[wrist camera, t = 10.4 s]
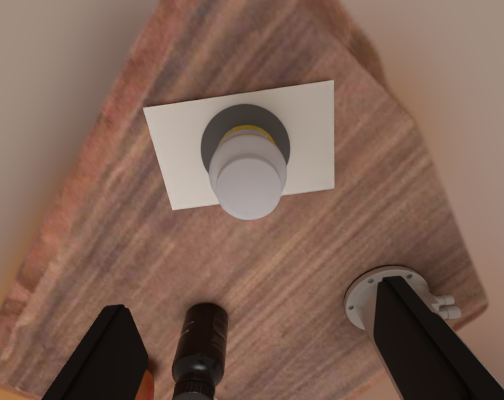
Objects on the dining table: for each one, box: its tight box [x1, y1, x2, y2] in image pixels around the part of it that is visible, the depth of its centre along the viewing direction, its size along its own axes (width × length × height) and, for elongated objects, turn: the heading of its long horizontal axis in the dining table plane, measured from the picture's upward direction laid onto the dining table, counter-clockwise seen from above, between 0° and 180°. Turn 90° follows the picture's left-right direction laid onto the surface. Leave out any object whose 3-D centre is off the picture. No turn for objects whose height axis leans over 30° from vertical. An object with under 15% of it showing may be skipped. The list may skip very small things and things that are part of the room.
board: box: [143, 80, 334, 210], centre depth 29 cm, size 20×12×1 cm, turn 98°
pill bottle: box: [209, 124, 287, 220], centre depth 23 cm, size 6×6×12 cm
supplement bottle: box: [172, 304, 228, 400], centre depth 35 cm, size 7×7×12 cm
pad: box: [201, 104, 290, 174], centre depth 28 cm, size 10×10×1 cm
